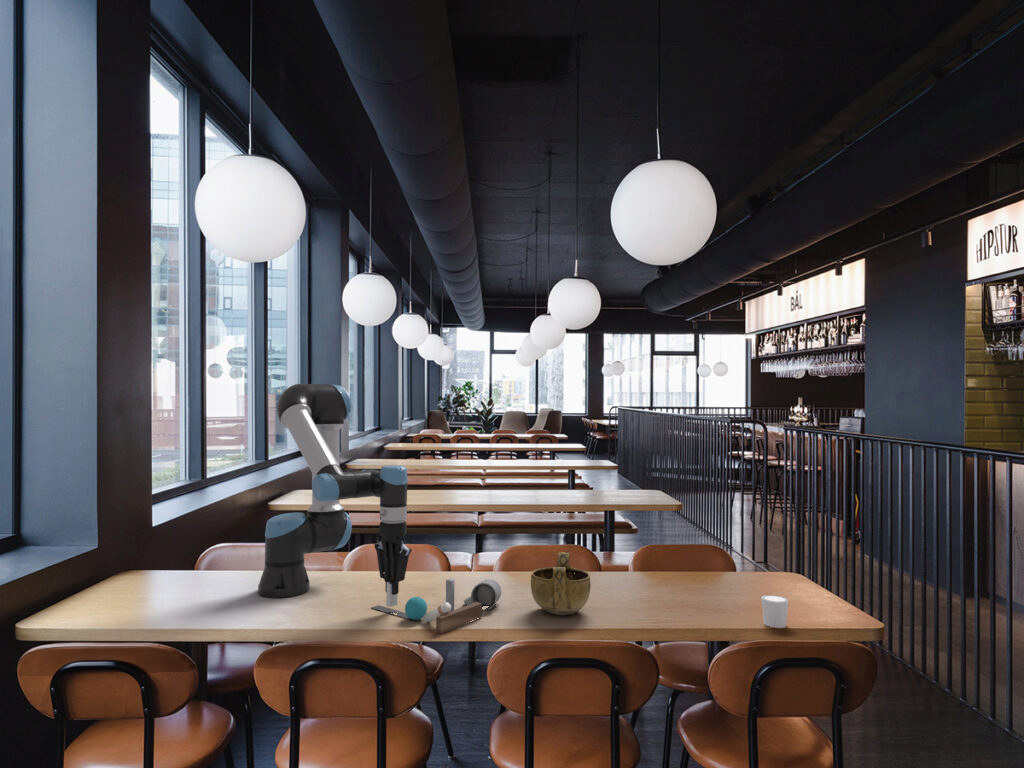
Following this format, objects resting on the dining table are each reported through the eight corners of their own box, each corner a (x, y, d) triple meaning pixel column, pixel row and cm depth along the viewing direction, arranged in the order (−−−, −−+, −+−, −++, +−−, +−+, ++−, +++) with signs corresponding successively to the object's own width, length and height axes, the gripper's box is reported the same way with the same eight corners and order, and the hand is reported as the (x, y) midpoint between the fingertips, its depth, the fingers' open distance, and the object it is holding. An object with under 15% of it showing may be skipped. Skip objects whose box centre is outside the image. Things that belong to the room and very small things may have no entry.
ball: (419, 615, 172) (406, 626, 174) (435, 609, 176) (423, 620, 179) (408, 595, 174) (397, 606, 177) (425, 590, 179) (413, 601, 182)
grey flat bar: (370, 608, 186) (370, 607, 186) (378, 605, 188) (378, 605, 188) (410, 620, 176) (410, 619, 176) (418, 617, 178) (418, 616, 178)
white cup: (756, 620, 179) (756, 594, 179) (780, 620, 180) (780, 594, 180) (768, 629, 172) (768, 602, 172) (793, 628, 173) (793, 602, 173)
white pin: (421, 615, 174) (442, 603, 169) (428, 612, 176) (449, 601, 171) (424, 624, 173) (446, 612, 168) (431, 621, 175) (452, 610, 170)
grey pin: (443, 612, 182) (444, 580, 183) (449, 610, 184) (450, 578, 185) (450, 614, 181) (450, 581, 181) (455, 612, 183) (456, 580, 183)
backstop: (436, 632, 167) (436, 616, 167) (476, 616, 179) (476, 601, 180) (441, 634, 165) (442, 618, 166) (481, 618, 178) (482, 603, 178)
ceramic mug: (502, 602, 192) (502, 576, 193) (496, 611, 184) (496, 584, 185) (468, 601, 194) (467, 575, 195) (460, 609, 186) (460, 582, 187)
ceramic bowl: (589, 627, 172) (589, 570, 172) (525, 623, 174) (526, 567, 175) (591, 602, 194) (591, 551, 194) (534, 598, 196) (535, 549, 197)
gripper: (367, 520, 184) (365, 603, 183) (399, 525, 176) (397, 613, 176) (387, 516, 190) (386, 597, 189) (419, 521, 182) (417, 606, 182)
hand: (391, 605), depth 183 cm, fingers closed
